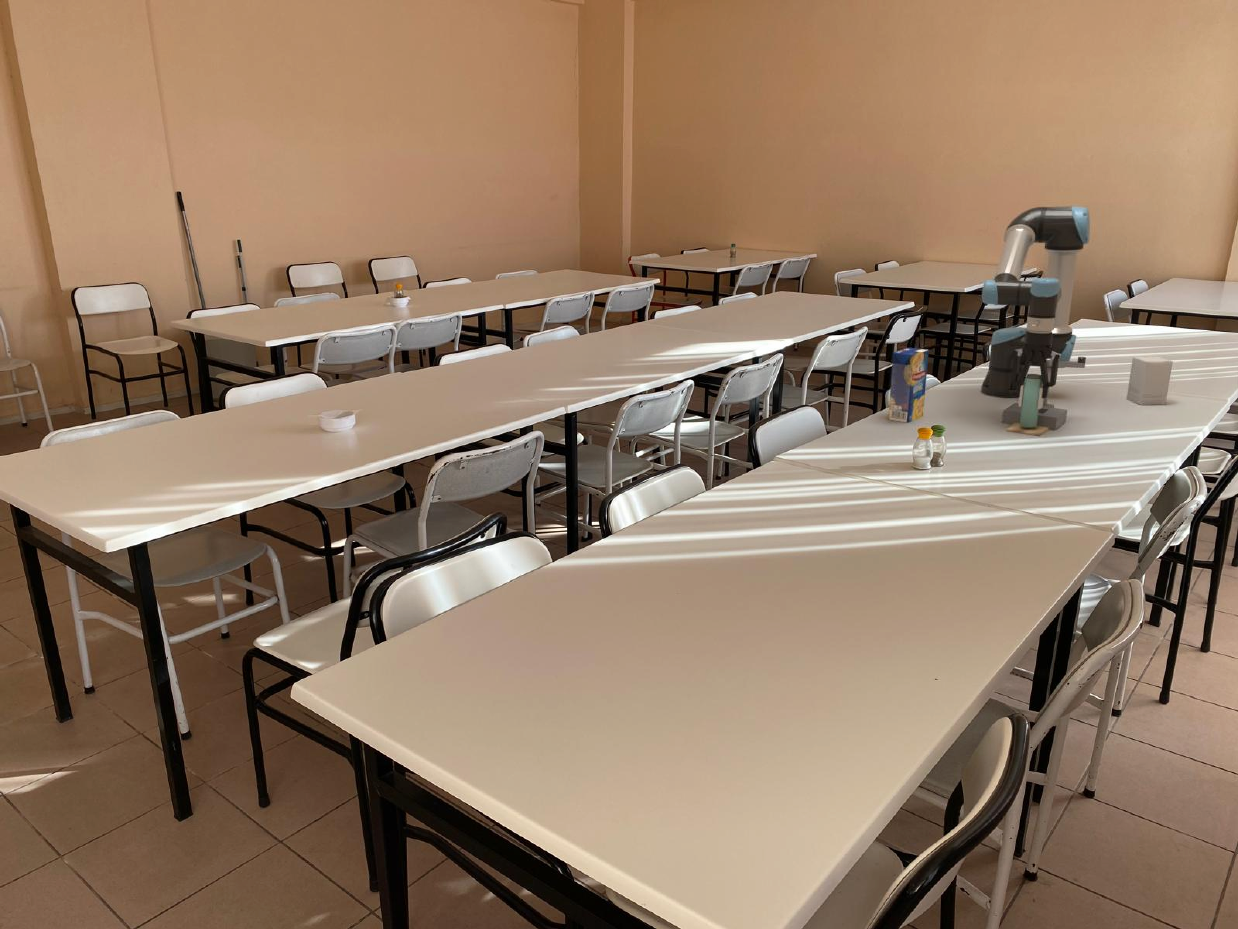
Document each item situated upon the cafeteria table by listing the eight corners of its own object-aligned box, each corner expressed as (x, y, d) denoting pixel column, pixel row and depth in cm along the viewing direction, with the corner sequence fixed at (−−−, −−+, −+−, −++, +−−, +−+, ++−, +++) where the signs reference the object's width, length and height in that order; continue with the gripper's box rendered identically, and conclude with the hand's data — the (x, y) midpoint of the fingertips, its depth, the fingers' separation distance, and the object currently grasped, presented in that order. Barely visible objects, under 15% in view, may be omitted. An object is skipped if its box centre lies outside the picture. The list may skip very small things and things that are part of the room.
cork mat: (1005, 430, 274) (1005, 429, 274) (1015, 423, 281) (1015, 421, 281) (1040, 436, 268) (1040, 434, 268) (1049, 428, 275) (1049, 426, 275)
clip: (1042, 366, 283) (1043, 356, 282) (1040, 364, 286) (1042, 354, 285) (1085, 368, 279) (1086, 358, 278) (1083, 366, 282) (1085, 356, 281)
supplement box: (1166, 404, 299) (1174, 361, 295) (1139, 405, 299) (1146, 361, 295) (1151, 398, 308) (1158, 355, 303) (1125, 399, 308) (1132, 356, 303)
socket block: (1001, 422, 283) (1007, 372, 278) (1017, 411, 295) (1023, 363, 290) (1055, 430, 273) (1062, 378, 268) (1069, 418, 285) (1076, 369, 280)
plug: (1017, 425, 274) (1023, 375, 269) (1022, 422, 277) (1028, 372, 273) (1034, 428, 271) (1040, 377, 266) (1038, 424, 274) (1044, 374, 270)
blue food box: (923, 415, 293) (928, 349, 286) (907, 422, 285) (913, 355, 279) (903, 412, 298) (908, 347, 291) (888, 419, 290) (893, 352, 283)
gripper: (1004, 330, 268) (996, 405, 275) (1068, 335, 257) (1058, 413, 264) (1012, 326, 273) (1004, 400, 281) (1075, 331, 263) (1064, 408, 270)
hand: (1030, 406), depth 272 cm, fingers closed on plug, 5 cm apart
